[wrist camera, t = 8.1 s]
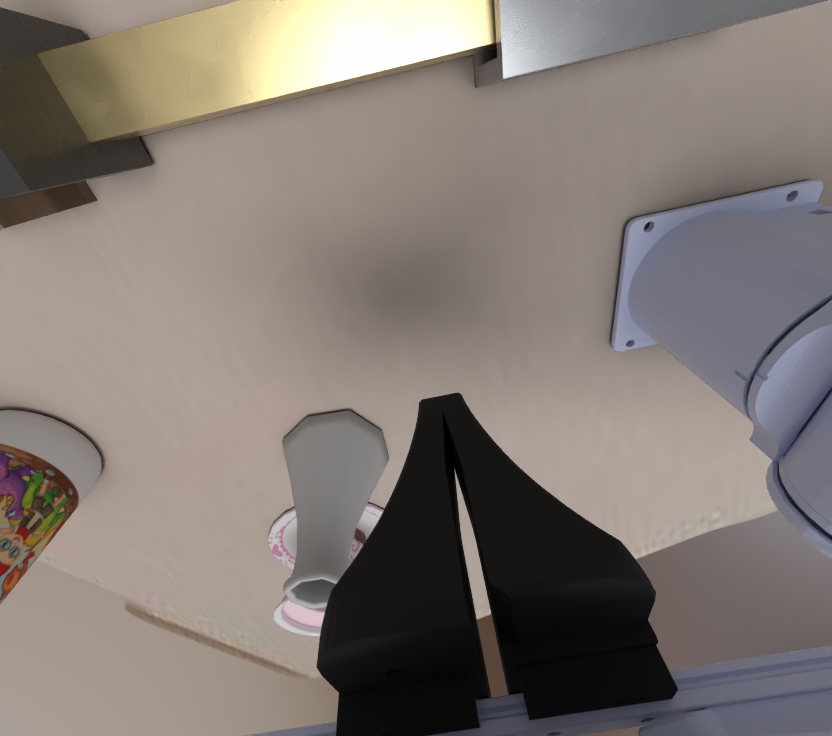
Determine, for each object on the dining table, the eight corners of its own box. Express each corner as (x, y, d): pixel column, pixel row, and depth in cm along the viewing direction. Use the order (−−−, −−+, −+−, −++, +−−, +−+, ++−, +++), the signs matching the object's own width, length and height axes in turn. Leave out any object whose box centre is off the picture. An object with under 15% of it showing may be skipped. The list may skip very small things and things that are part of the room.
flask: (263, 434, 26) (207, 585, 17) (354, 393, 24) (339, 536, 16) (324, 491, 29) (301, 637, 21) (405, 458, 28) (414, 601, 20)
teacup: (288, 577, 37) (273, 652, 32) (251, 503, 30) (224, 583, 25) (409, 565, 37) (414, 637, 32) (400, 489, 30) (403, 565, 25)
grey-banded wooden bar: (492, -79, 13) (575, -229, 7) (500, 81, 15) (566, 61, 10) (-55, 65, 14) (-349, 32, 8) (37, 192, 16) (-143, 232, 11)
